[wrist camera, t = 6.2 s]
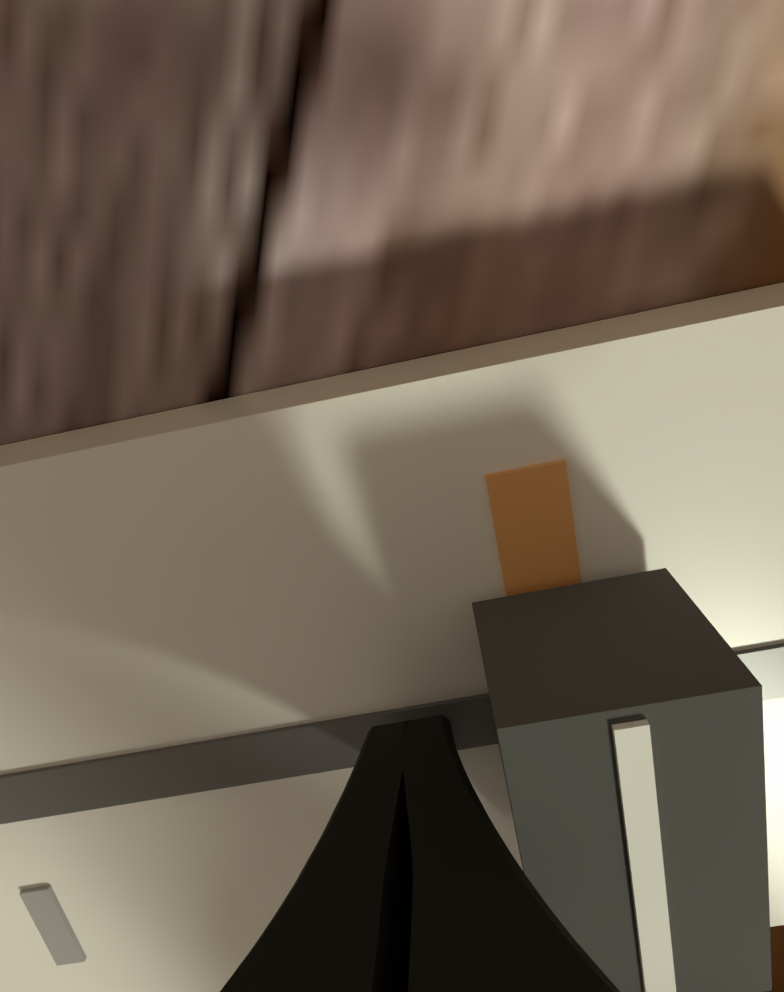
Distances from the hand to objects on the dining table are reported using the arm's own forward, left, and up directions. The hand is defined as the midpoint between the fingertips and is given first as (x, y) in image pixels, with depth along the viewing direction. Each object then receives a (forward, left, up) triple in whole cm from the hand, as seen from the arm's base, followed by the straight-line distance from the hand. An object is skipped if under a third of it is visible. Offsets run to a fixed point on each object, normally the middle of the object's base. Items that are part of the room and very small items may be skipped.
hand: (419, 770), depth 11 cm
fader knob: (-3, 0, -1) cm, 3 cm away
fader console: (+2, 0, -3) cm, 4 cm away
